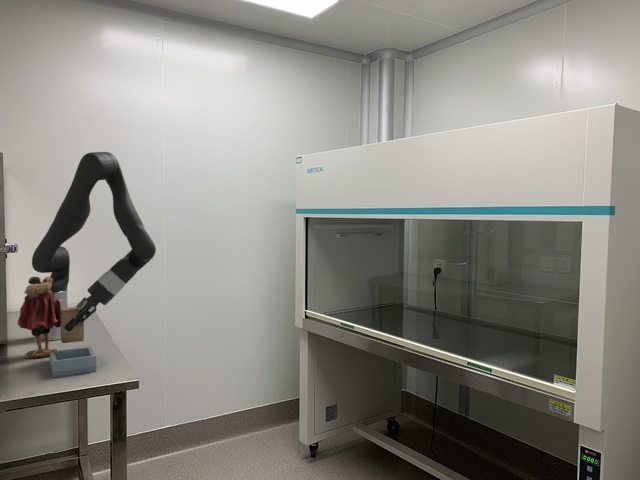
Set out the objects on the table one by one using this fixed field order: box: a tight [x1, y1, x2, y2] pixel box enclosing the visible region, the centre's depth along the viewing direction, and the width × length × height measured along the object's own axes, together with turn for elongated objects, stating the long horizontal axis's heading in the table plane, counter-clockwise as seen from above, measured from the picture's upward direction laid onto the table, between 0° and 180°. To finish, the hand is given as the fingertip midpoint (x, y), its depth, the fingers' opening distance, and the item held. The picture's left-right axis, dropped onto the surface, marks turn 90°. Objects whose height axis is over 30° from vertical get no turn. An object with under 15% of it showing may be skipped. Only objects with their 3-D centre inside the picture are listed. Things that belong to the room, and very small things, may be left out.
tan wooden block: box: [60, 306, 85, 344], centre depth 154 cm, size 5×6×10 cm
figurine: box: [17, 276, 61, 359], centre depth 157 cm, size 12×11×25 cm
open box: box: [49, 346, 97, 378], centre depth 144 cm, size 11×11×4 cm
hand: (65, 327), depth 153 cm, fingers closed on tan wooden block, 5 cm apart
